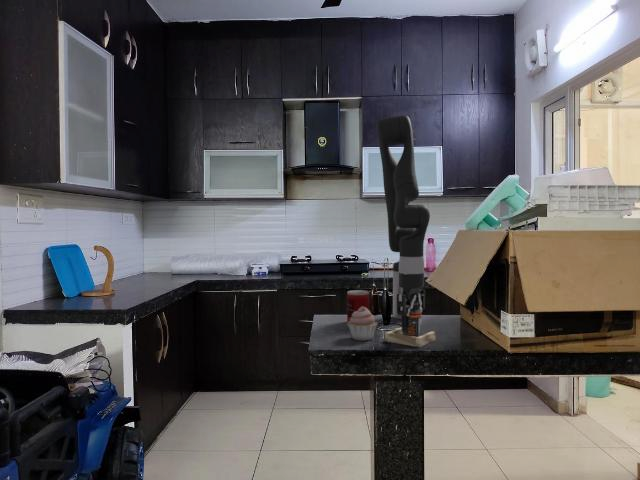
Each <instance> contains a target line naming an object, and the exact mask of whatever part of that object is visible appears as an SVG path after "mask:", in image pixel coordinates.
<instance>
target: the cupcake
mask: <svg viewBox="0 0 640 480" xmlns="http://www.w3.org/2000/svg"><path fill="white" fill-rule="evenodd" d="M346 324H347V326H348V328H349V331H350V335H351V338H352V339H353V340H355V341H361V342H367V340H368V341H371V340H373V338H374V335H375V330H376V328H377V326H378V322H376V321H375V316H374V315H373V314H372V313H371V311H370V309H369V310H368V309H367V308H365V307H363V306H362V307H361V308H359V309H358V311H356V312H353V314H352V316H351V318H350V322H348V321H347V323H346Z"/></svg>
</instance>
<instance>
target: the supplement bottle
mask: <svg viewBox="0 0 640 480" xmlns="http://www.w3.org/2000/svg"><path fill="white" fill-rule="evenodd" d="M406 312H407V309H406ZM422 313H423V312H421V311H420V310H419V309H418V303H415V304H413V308H412V309H411V310H410V314H409V329H403V328H402V325H401V334H402V335H408V336H415V337H419V336H422V321H423V320H422V319H423V318H422Z"/></svg>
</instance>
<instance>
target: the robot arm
mask: <svg viewBox="0 0 640 480" xmlns="http://www.w3.org/2000/svg"><path fill="white" fill-rule="evenodd" d="M376 133H377V142H378V148H379V154H380V159H381V167H382V178H383V180H382V181H383V190H384V199H385V204H386V214H387V227H388V228H387V229H388V230H387V232H388V246H389V248H390V251H391V252H393V253H399V260H398V261H397V262H394V263H393V264H392V317H393V318H394V319H397V320H401V326H402V328H403V329H409V314H410V310H411V309H412V308H413V304H415V303H418V309H419V310H420V311H421V313H423V310H425V308H426V289H423V288H424V286H425V260H424V259H425V257H424V243H425V237H426V232H427V229H428V226H429V222H430V219H431V215H430V210H429V208H428V207H427V206H426V205H425V204H409V203H411V202H413V201H416V200H417V199H418V198H419V195H420V189H419V185H418V179H417V175H416V166H415V165H416V164H415V148H414V147H415V146H414V145H415V144H414V135H413V134H414V133H413V126H412V122H411V119H410V117H409V116H408V115H407V114H402V115H401V114H400V115H395V116H388V117H382V118H379V119H378V120H377V121H376ZM399 145H403V151H402V153H401V156H400V158H399V160H398V162H397V160H396V159H395V157H394V156H393V154H392V152H391V150H390V147H393V146H399ZM406 309H407V312H406Z"/></svg>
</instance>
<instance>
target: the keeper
mask: <svg viewBox="0 0 640 480" xmlns="http://www.w3.org/2000/svg"><path fill="white" fill-rule="evenodd" d="M386 341H387V343H394V344H397V345H398V344H399V345H405V346H411V347H417V348H421V347H423V346H425V345H427V344H430V343H431V342H432V343H433V342H434V341H436V331H433V330H432V331H429V332H427V333H425V334H421V336H419V337H415V336H408V335H402V334H401V327H398V328H395V329H393V330H390V331H386V332H385V333H384V342H386Z"/></svg>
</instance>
